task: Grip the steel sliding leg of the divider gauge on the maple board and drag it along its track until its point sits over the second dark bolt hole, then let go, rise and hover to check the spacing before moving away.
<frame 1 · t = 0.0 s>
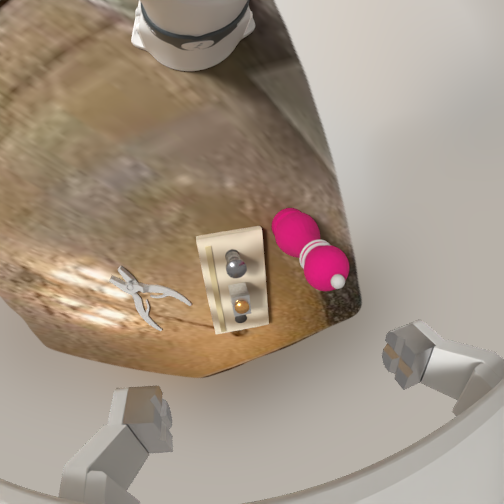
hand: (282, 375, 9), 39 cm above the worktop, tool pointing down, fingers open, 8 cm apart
sliding leg: (239, 298, 49), point 5 cm above the worktop, slide at 7.0 cm
pepper mill: (288, 224, 50), on the worktop
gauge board: (235, 282, 53), on the worktop
fixed leg: (230, 251, 50), resting on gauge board
pliers: (146, 293, 51), on the worktop
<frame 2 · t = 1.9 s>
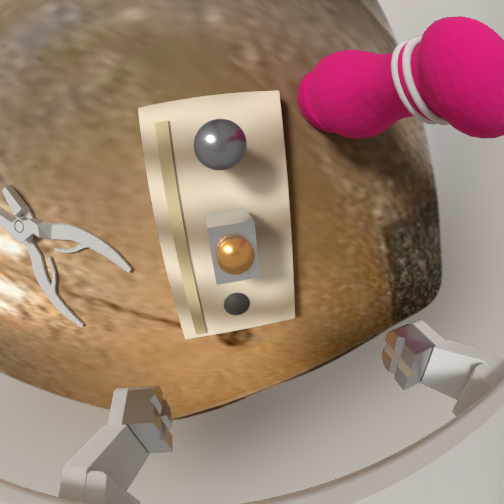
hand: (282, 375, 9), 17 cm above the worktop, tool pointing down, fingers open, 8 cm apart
sliding leg: (230, 243, 20), point 5 cm above the worktop, slide at 7.0 cm
pepper mill: (328, 100, 22), on the worktop
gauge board: (223, 220, 24), on the worktop
fixed leg: (213, 145, 22), resting on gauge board
pliers: (51, 246, 22), on the worktop
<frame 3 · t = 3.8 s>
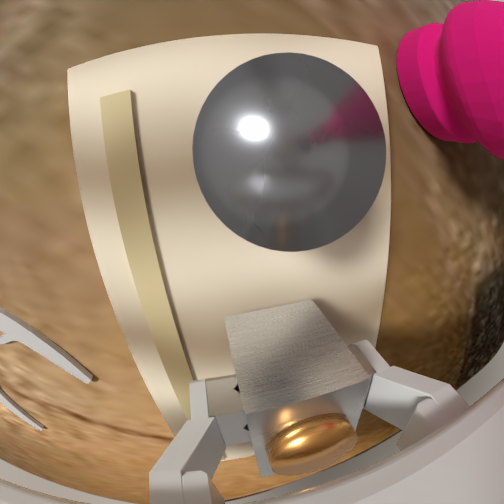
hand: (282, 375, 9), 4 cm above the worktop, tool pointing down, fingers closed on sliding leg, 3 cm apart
sliding leg: (287, 388, 8), point 5 cm above the worktop, slide at 7.0 cm, touching gripper
pepper mill: (435, 84, 10), on the worktop
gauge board: (256, 305, 12), on the worktop
fixed leg: (238, 149, 10), resting on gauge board
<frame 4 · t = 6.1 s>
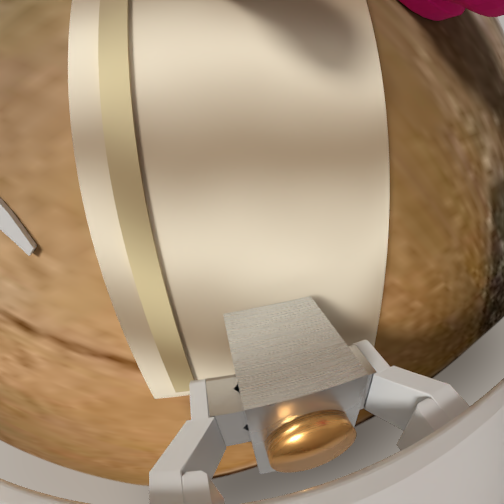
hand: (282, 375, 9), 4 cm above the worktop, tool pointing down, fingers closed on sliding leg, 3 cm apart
sliding leg: (286, 385, 8), point 5 cm above the worktop, slide at 14.1 cm, touching gripper
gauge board: (236, 132, 10), on the worktop
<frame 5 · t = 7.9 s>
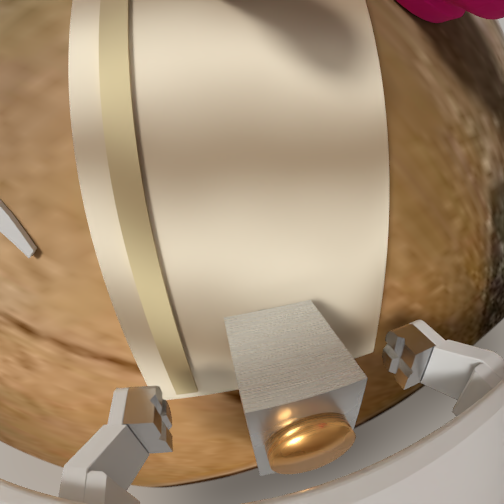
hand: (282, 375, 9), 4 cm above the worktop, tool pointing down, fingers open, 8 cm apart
sliding leg: (286, 388, 8), point 5 cm above the worktop, slide at 14.1 cm
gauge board: (236, 136, 10), on the worktop
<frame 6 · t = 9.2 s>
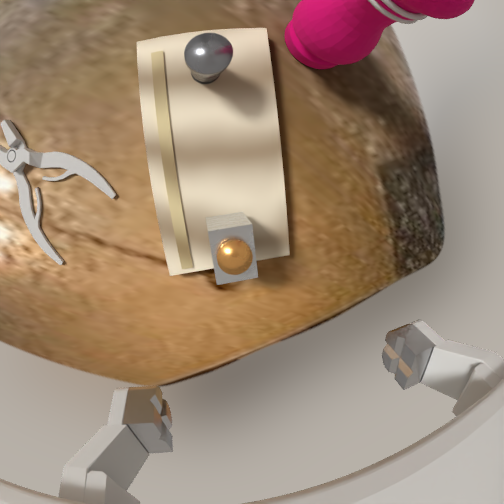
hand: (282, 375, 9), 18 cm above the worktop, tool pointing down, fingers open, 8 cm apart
sliding leg: (230, 245, 22), point 5 cm above the worktop, slide at 14.1 cm
pepper mill: (314, 42, 21), on the worktop
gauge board: (213, 145, 23), on the worktop
fixed leg: (205, 75, 21), resting on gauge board
pliers: (40, 178, 21), on the worktop
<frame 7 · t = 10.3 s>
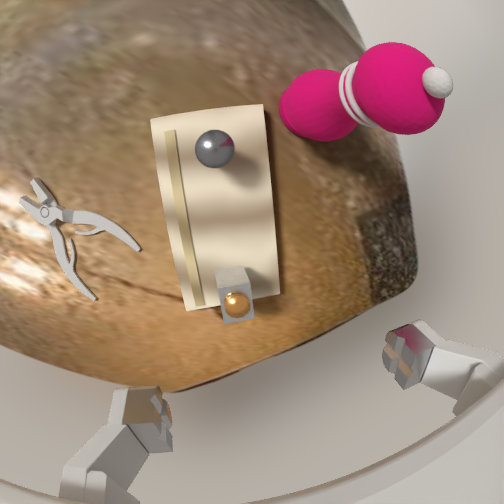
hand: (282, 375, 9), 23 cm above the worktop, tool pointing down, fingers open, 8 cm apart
sliding leg: (233, 293, 28), point 5 cm above the worktop, slide at 14.1 cm
pepper mill: (305, 110, 28), on the worktop
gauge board: (218, 210, 30), on the worktop
fixed leg: (210, 149, 27), resting on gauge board
pliers: (71, 230, 28), on the worktop
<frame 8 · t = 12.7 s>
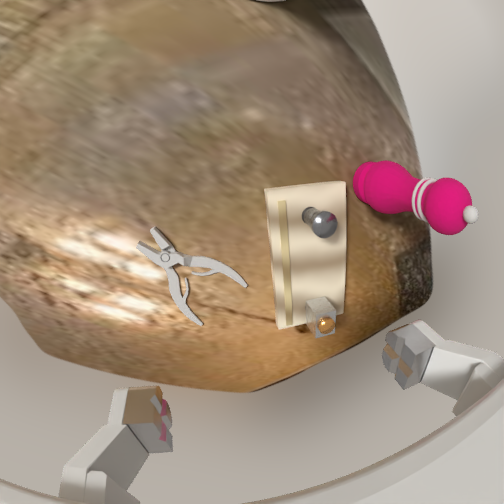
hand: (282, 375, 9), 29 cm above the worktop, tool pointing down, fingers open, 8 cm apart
sliding leg: (319, 316, 39), point 5 cm above the worktop, slide at 14.1 cm
pepper mill: (369, 182, 39), on the worktop
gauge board: (307, 256, 41), on the worktop
fixed leg: (305, 213, 38), resting on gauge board
pliers: (185, 270, 38), on the worktop
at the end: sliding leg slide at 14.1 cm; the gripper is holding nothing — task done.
